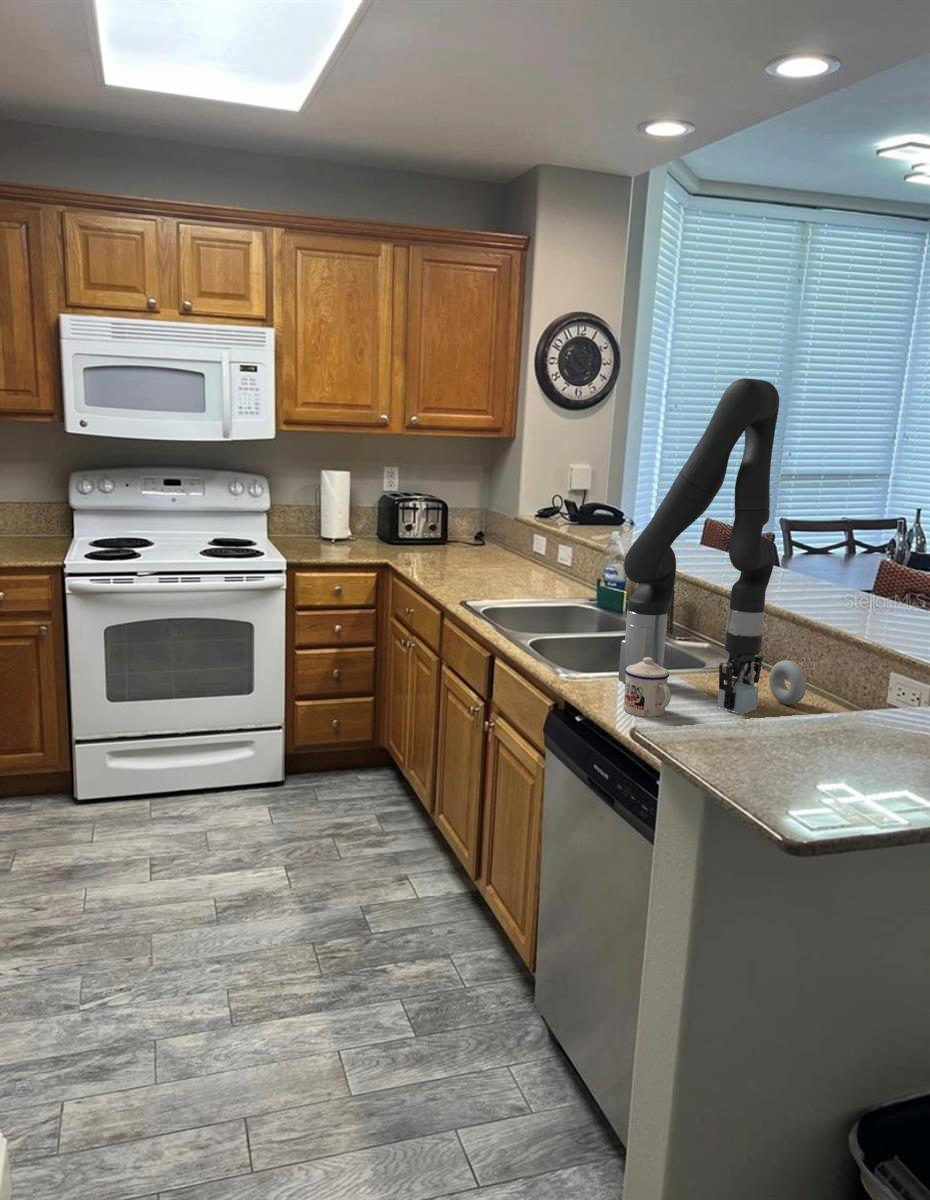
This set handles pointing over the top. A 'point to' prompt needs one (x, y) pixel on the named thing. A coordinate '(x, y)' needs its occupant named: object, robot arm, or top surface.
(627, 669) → the teacup with lid
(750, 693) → the gray block
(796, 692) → the donut
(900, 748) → the top surface
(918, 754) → the top surface
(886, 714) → the top surface
